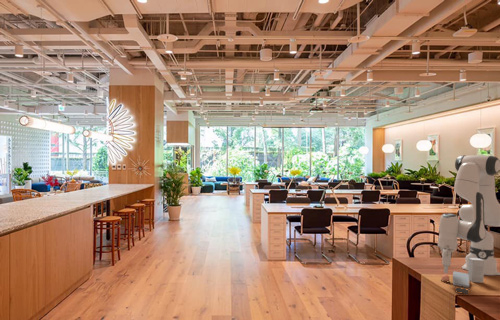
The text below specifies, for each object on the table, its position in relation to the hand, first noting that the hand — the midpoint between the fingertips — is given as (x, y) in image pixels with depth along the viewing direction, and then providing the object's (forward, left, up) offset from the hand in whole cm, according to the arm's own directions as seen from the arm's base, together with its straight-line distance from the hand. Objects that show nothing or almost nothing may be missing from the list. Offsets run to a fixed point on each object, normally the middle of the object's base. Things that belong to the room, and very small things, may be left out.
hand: (445, 270), depth 183 cm
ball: (-1, 0, -6) cm, 6 cm away
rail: (+14, +7, -6) cm, 17 cm away
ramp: (-3, +7, -6) cm, 10 cm away
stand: (-1, 0, -6) cm, 6 cm away
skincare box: (-13, +14, -6) cm, 20 cm away
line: (+6, +7, -6) cm, 11 cm away
